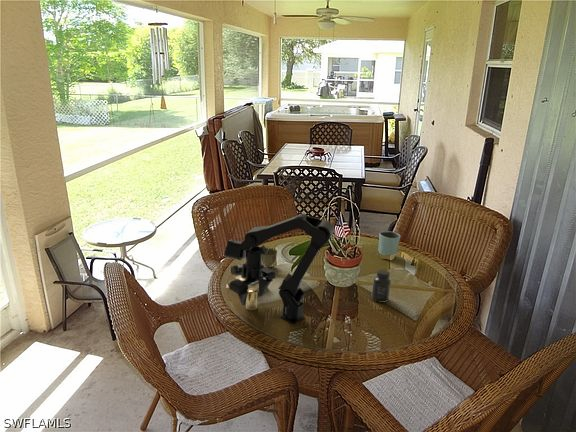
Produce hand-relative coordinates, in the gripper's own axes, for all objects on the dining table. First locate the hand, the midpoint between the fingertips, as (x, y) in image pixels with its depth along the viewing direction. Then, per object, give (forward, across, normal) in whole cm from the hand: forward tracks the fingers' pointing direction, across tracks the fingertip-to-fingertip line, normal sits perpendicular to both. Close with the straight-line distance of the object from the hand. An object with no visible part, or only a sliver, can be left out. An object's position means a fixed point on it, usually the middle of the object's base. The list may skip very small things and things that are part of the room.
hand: (251, 300), depth 155 cm
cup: (+3, -30, -19) cm, 36 cm away
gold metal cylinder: (+3, 0, 0) cm, 3 cm away
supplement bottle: (+3, -42, +31) cm, 52 cm away
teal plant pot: (+3, -83, +13) cm, 84 cm away
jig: (+3, -11, -11) cm, 16 cm away
